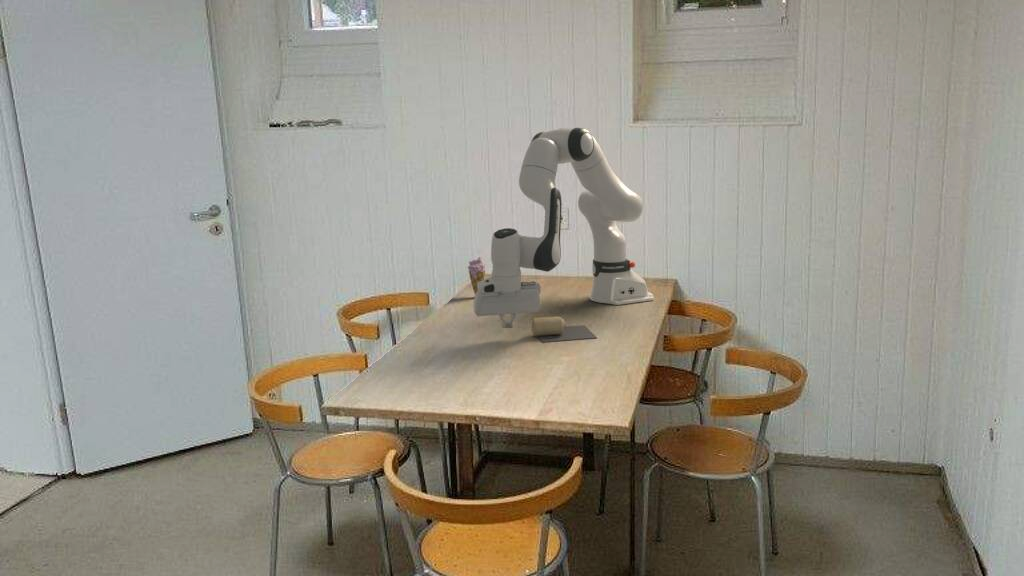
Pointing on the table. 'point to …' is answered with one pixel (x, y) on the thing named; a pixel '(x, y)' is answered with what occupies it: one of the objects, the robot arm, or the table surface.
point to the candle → (548, 326)
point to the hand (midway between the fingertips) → (507, 327)
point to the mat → (569, 334)
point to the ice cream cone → (476, 272)
